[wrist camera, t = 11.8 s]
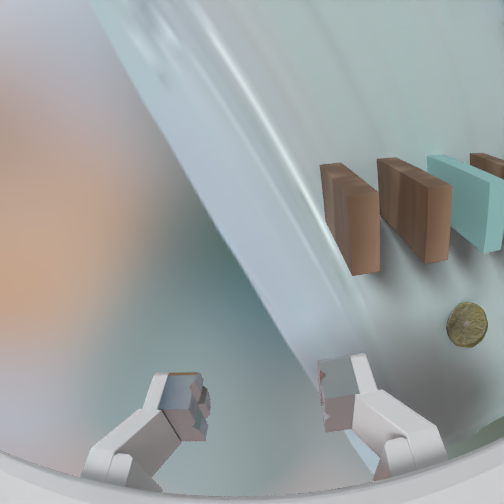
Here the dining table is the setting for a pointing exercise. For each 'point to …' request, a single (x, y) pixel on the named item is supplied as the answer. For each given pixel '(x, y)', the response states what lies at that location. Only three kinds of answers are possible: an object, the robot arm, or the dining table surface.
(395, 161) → the domino
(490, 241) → the domino
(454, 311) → the lime
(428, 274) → the dining table surface
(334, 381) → the robot arm
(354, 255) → the domino
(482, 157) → the domino
